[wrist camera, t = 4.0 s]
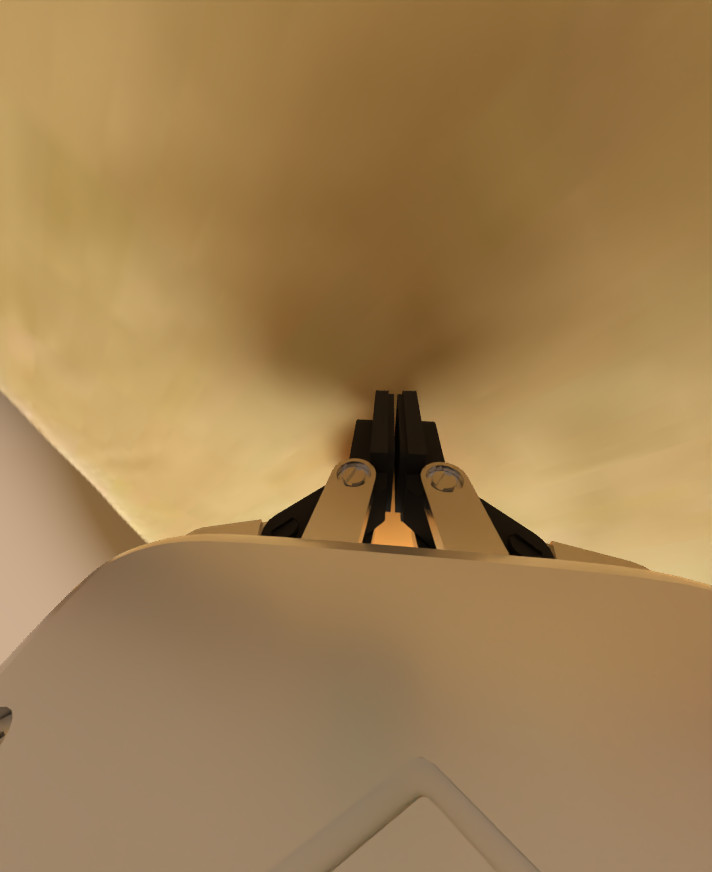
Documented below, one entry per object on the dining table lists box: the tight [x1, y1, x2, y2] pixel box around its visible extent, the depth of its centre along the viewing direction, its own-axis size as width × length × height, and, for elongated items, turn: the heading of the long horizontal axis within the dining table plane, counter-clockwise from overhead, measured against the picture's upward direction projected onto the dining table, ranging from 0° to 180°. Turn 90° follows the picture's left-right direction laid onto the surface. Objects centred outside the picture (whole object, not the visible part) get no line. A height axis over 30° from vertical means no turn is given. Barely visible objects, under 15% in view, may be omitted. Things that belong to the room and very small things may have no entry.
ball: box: [373, 473, 414, 547], centre depth 13 cm, size 6×6×6 cm
